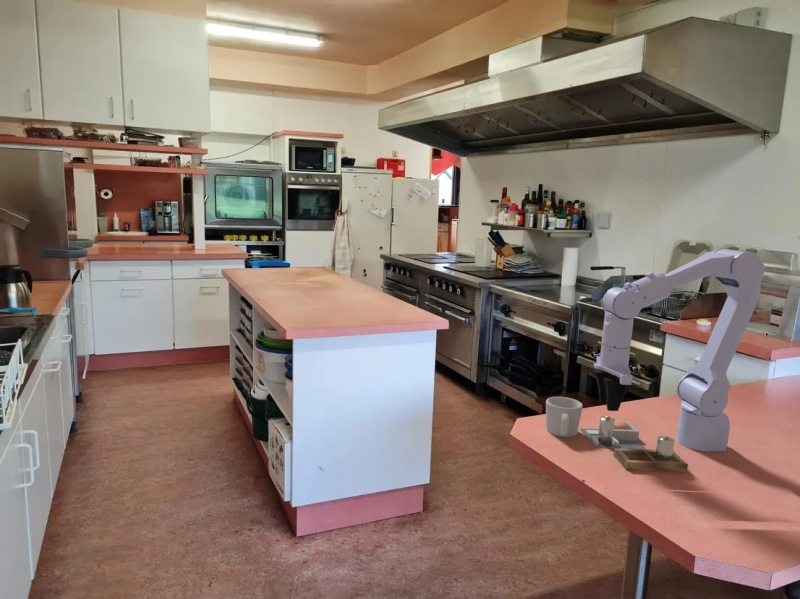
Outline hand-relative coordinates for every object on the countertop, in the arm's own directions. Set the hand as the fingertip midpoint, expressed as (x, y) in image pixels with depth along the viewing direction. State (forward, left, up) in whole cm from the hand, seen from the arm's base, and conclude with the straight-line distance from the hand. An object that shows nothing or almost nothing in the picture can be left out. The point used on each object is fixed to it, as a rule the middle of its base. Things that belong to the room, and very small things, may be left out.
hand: (608, 406), depth 123 cm
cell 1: (0, 0, -8) cm, 8 cm away
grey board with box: (-3, -3, -9) cm, 10 cm away
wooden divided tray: (-6, +9, -9) cm, 14 cm away
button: (-5, -5, -8) cm, 10 cm away
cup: (+8, -5, -10) cm, 13 cm away
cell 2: (-8, +9, -8) cm, 15 cm away
